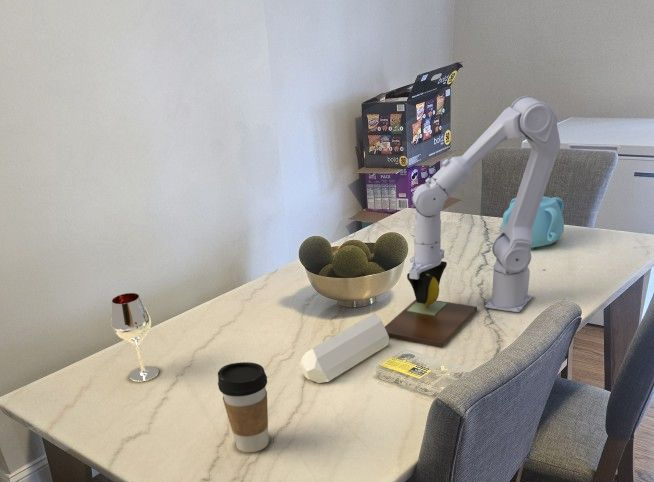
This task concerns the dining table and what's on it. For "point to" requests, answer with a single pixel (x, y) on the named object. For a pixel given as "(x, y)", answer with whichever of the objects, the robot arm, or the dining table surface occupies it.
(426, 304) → the lemon
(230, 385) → the coffee cup
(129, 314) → the wineglass
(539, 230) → the decorative pot
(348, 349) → the crystal
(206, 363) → the dining table surface
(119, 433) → the dining table surface
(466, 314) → the board
